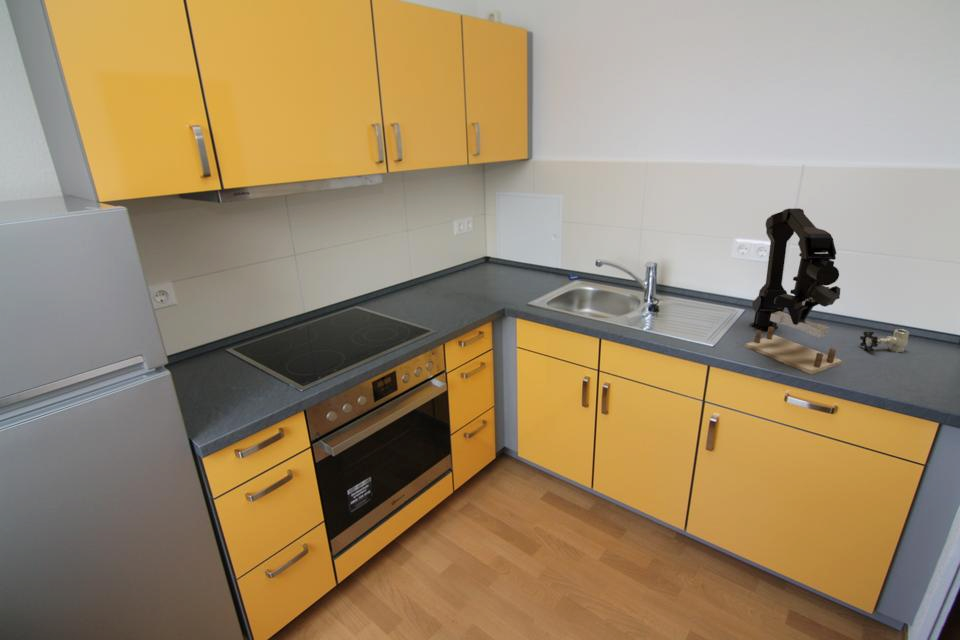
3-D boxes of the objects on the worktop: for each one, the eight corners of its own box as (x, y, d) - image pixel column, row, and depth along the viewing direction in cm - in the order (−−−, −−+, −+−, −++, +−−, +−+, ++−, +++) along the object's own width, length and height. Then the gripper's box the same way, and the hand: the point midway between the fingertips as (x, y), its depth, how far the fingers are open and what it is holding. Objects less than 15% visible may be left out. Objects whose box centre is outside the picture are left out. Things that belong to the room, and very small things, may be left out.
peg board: (744, 346, 164) (747, 332, 162) (773, 338, 170) (776, 324, 168) (811, 374, 146) (815, 358, 144) (840, 363, 151) (844, 348, 149)
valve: (895, 345, 162) (857, 346, 162) (900, 326, 159) (862, 327, 160) (911, 354, 156) (871, 355, 156) (917, 335, 153) (877, 336, 153)
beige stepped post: (769, 320, 160) (771, 313, 159) (778, 318, 161) (779, 311, 160) (818, 337, 147) (820, 329, 146) (827, 335, 148) (829, 327, 147)
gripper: (816, 287, 137) (804, 339, 143) (856, 276, 145) (843, 326, 151) (778, 277, 147) (768, 326, 153) (818, 267, 154) (807, 314, 160)
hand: (797, 323), depth 154 cm, fingers closed on beige stepped post, 2 cm apart
